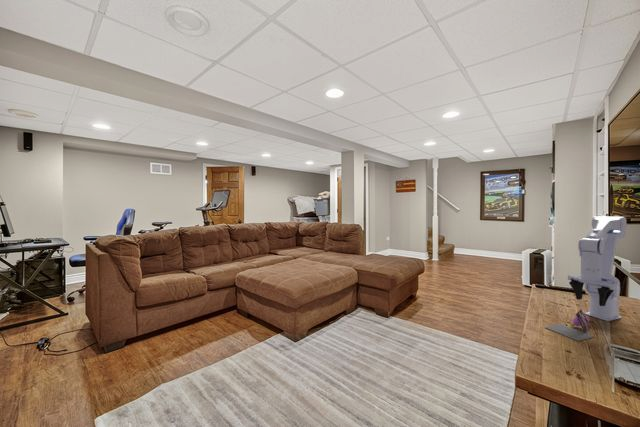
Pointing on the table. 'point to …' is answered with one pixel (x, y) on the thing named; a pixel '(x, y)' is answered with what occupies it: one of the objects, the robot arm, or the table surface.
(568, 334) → the mat
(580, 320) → the purple monster photo frame
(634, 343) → the table surface
